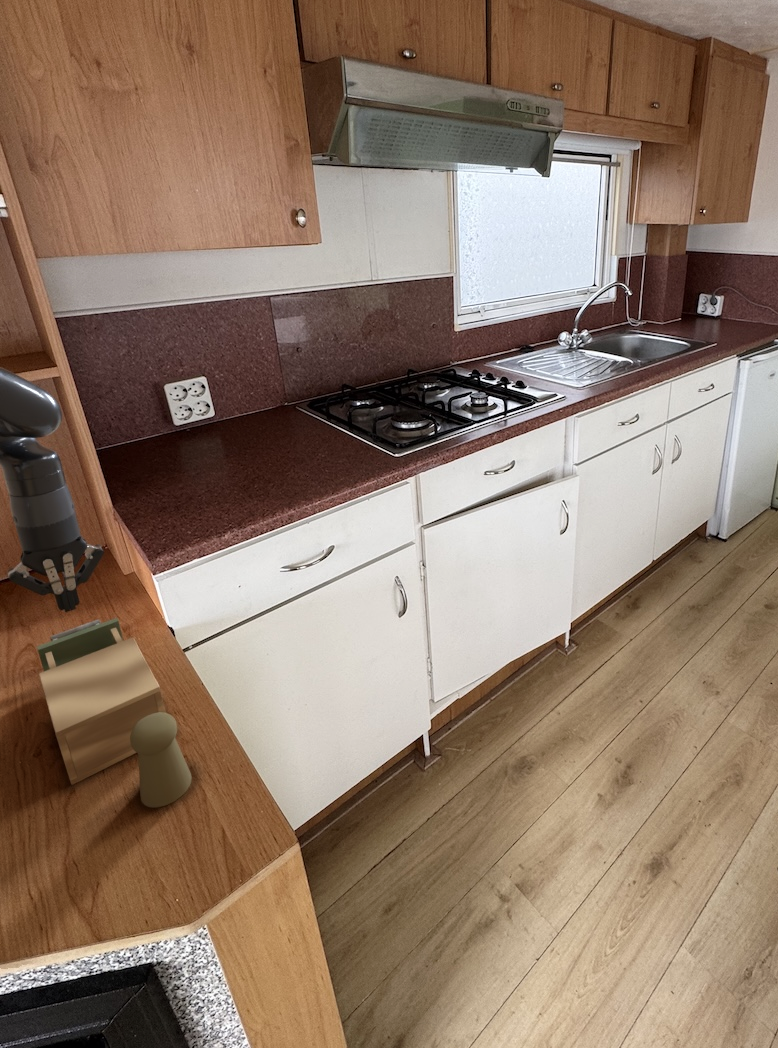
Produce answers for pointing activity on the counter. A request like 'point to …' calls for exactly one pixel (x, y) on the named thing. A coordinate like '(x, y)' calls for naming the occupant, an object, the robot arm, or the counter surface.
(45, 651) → the drawer
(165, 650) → the counter surface
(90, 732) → the cabinet
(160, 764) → the cork
